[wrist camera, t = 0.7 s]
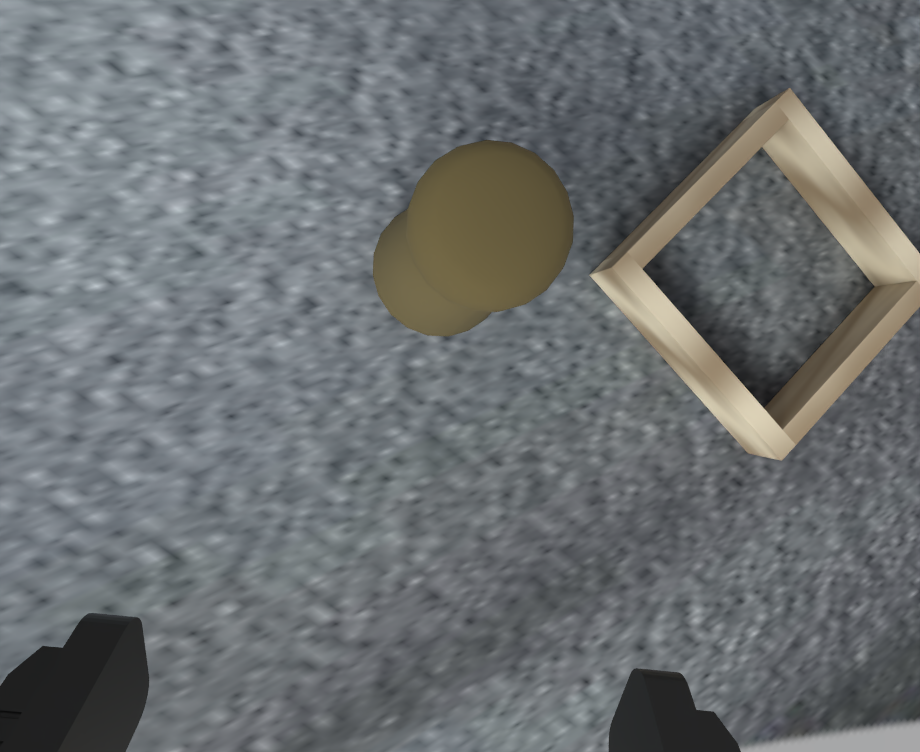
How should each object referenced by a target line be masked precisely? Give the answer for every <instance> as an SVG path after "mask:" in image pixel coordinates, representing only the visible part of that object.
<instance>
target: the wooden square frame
mask: <svg viewBox="0 0 920 752" xmlns="http://www.w3.org/2000/svg"><path fill="white" fill-rule="evenodd" d="M761 147H763V149H764V150H765V151H766V152H767V154H768V155H769V156H770V157H771V158H772V160H773V161H774V162H775V163H776V165H777V166H778V167H779V168H780V170H781V171H782V172H783V173H784V175H785V176H786V177H787V178H788V180H789V181H790V182H791V183H792V185H793V186H794V187H795V188H796V190H797V191H798V192H799V193H800V194H801V196H802V197H803V198H804V199H805V201H806V202H807V203H808V204H809V206H810V207H811V208H812V209H813V211H814V212H815V213H816V214H817V216H818V217H819V218H820V219H821V221H822V222H823V223H824V224H825V226H826V227H827V228H828V229H829V230H830V232H831V233H832V234H833V235H834V237H835V238H836V239H837V240H838V242H839V243H840V244H841V245H842V247H843V248H844V249H845V250H846V252H847V253H848V254H849V255H850V257H851V258H852V259H853V260H854V261H855V263H856V264H857V265H858V266H859V268H860V269H861V270H862V271H863V273H864V274H865V275H866V276H867V278H868V279H869V280H870V281H871V283H872V284H873V285H874V286H875V287H874V288H873V289H872V290H871V291H870V292H869V293H868V295H867V296H866V297H865V298H864V299H863V300H862V301H861V302H860V303H859V304H858V305H857V307H856V308H855V309H854V310H853V311H852V312H851V313H850V314H849V315H848V316H847V318H846V319H845V320H844V321H843V322H842V323H841V324H840V325H839V326H838V327H837V329H836V330H835V331H834V332H833V333H832V334H831V335H830V336H829V337H828V338H827V339H826V341H825V342H824V343H823V344H822V345H821V346H820V347H819V348H818V349H817V350H816V352H815V353H814V354H813V355H812V356H811V357H810V358H809V359H808V360H807V361H806V362H805V364H804V365H803V366H802V367H801V368H800V369H799V370H798V371H797V372H796V373H795V375H794V376H793V377H792V378H791V379H790V380H789V381H788V382H787V383H786V384H785V386H784V387H783V388H782V389H781V390H780V391H779V392H778V393H777V394H776V395H775V396H774V398H773V399H772V400H771V401H770V402H769V403H768V404H767V405H766V406H765V407H764V408H763V407H762V406H761V405H760V403H759V402H758V401H757V400H756V399H755V398H754V397H753V395H752V394H751V393H750V392H749V391H748V390H747V388H746V387H745V386H744V385H743V384H742V383H741V382H740V380H739V379H738V378H737V377H736V376H735V375H734V374H733V372H732V371H731V370H730V369H729V368H728V367H727V366H726V364H725V363H724V362H723V361H722V360H721V359H720V358H719V356H718V355H717V354H716V353H715V352H714V351H713V350H712V348H711V347H710V346H709V345H708V344H707V343H706V342H705V340H704V339H703V338H702V337H701V336H700V335H699V334H698V332H697V331H696V330H695V329H694V328H693V327H692V325H691V324H690V323H689V322H688V321H687V320H686V319H685V317H684V316H683V315H682V314H681V313H680V312H679V311H678V309H677V308H676V307H675V306H674V305H673V304H672V303H671V301H670V300H669V299H668V298H667V297H666V296H665V295H664V293H663V292H662V291H661V290H660V289H659V288H658V287H657V285H656V284H655V283H654V282H653V281H652V280H651V279H650V277H649V276H648V275H647V274H646V273H645V272H644V271H643V268H644V267H645V266H646V264H647V263H648V262H649V261H650V260H651V259H652V258H653V257H654V256H655V255H656V254H657V253H658V252H659V251H660V250H661V249H662V248H663V247H664V246H665V245H666V244H667V243H668V242H669V241H670V240H671V239H672V238H673V237H674V236H675V235H676V234H677V233H678V232H679V231H680V230H681V229H682V228H683V227H684V226H685V225H686V224H687V223H688V222H689V221H690V220H691V219H692V218H693V217H694V216H695V215H696V214H697V212H698V211H699V210H700V209H701V208H702V207H703V206H704V205H705V204H706V203H707V202H708V201H709V200H710V199H711V198H712V197H713V196H714V195H715V194H716V193H717V192H718V191H719V190H720V189H721V188H722V187H723V186H724V185H725V184H726V183H727V182H728V181H729V180H730V179H731V178H732V177H733V176H734V175H735V174H736V173H737V172H738V171H739V170H740V169H741V168H742V167H743V166H744V165H745V164H746V163H747V162H748V160H749V159H750V158H751V157H752V156H753V155H754V154H755V153H756V152H757V151H758V150H759V149H760V148H761ZM590 276H591V277H592V279H593V280H594V281H595V282H596V283H597V284H598V285H599V286H600V288H601V289H602V290H603V291H604V292H605V293H606V294H607V295H608V297H609V298H610V299H611V300H612V301H613V302H614V303H615V304H616V306H617V307H618V308H619V309H620V310H621V311H622V312H623V313H624V314H625V316H626V317H627V318H628V319H629V320H630V321H631V322H632V323H633V325H634V326H635V327H636V328H637V329H638V330H639V331H640V332H641V334H642V335H643V336H644V337H645V338H646V339H647V340H648V341H649V343H650V344H651V345H652V346H653V347H654V348H655V349H656V350H657V352H658V353H659V354H660V355H661V356H662V357H663V358H664V359H665V361H666V362H667V363H668V364H669V365H670V366H671V367H672V368H673V369H674V371H675V372H676V373H677V374H678V375H679V376H680V377H681V378H682V380H683V381H684V382H685V383H686V384H687V385H688V386H689V387H690V389H691V390H692V391H693V392H694V393H695V394H696V395H697V396H698V398H699V399H700V400H701V401H702V402H703V403H704V404H705V405H706V407H707V408H708V409H709V410H710V411H711V412H712V413H713V414H714V415H715V417H716V418H717V419H718V420H719V421H720V422H721V423H722V424H723V426H724V427H725V428H726V429H727V430H728V431H729V432H730V433H731V435H732V436H733V437H734V438H735V439H736V440H737V441H738V442H739V444H740V445H741V446H742V447H743V448H744V449H745V450H746V451H747V453H749V454H754V455H759V456H763V457H768V458H772V459H777V460H783V459H784V458H785V457H786V455H787V454H788V453H789V452H790V451H791V450H792V449H793V448H794V446H795V445H796V444H797V443H798V442H799V441H800V440H801V439H802V438H803V436H804V435H805V434H806V433H807V432H808V431H809V430H810V429H811V427H812V426H813V425H814V424H815V423H816V422H817V421H818V420H819V419H820V417H821V416H822V415H823V414H824V413H825V412H826V411H827V410H828V408H829V407H830V406H831V405H832V404H833V403H834V402H835V401H836V400H837V398H838V397H839V396H840V395H841V394H842V393H843V392H844V391H845V389H846V388H847V387H848V386H849V385H850V384H851V383H852V382H853V381H854V379H855V378H856V377H857V376H858V375H859V374H860V373H861V372H862V370H863V369H864V368H865V367H866V366H867V365H868V364H869V363H870V362H871V360H872V359H873V358H874V357H875V356H876V355H877V354H878V353H879V351H880V350H881V349H882V348H883V347H884V346H885V345H886V344H887V343H888V341H889V340H890V339H891V338H892V337H893V336H894V335H895V334H896V332H897V331H898V330H899V329H900V328H901V327H902V326H903V325H904V324H905V322H906V321H907V320H908V319H909V318H910V317H911V316H912V315H913V313H914V312H915V311H916V310H917V309H918V308H919V307H920V253H919V252H918V251H917V250H916V248H915V247H914V246H913V244H912V243H911V242H910V241H909V239H908V238H907V237H906V236H905V234H904V233H903V232H902V230H901V229H900V228H899V227H898V225H897V224H896V223H895V221H894V220H893V219H892V218H891V216H890V215H889V214H888V213H887V211H886V210H885V209H884V207H883V206H882V205H881V204H880V202H879V201H878V200H877V199H876V197H875V196H874V195H873V193H872V192H871V191H870V190H869V188H868V187H867V186H866V184H865V183H864V182H863V181H862V179H861V178H860V177H859V176H858V174H857V173H856V172H855V170H854V169H853V168H852V167H851V165H850V164H849V163H848V162H847V160H846V159H845V158H844V156H843V155H842V154H841V153H840V151H839V150H838V149H837V147H836V146H835V145H834V144H833V142H832V141H831V140H830V139H829V137H828V136H827V135H826V133H825V132H824V131H823V130H822V128H821V127H820V126H819V125H818V123H817V122H816V121H815V119H814V118H813V117H812V116H811V114H810V113H809V112H808V111H807V109H806V108H805V107H804V105H803V104H802V103H801V102H800V100H799V99H798V98H797V96H796V95H795V94H794V93H793V91H792V90H791V89H790V88H789V89H787V90H785V91H783V92H782V93H780V94H778V95H777V96H775V97H773V98H772V99H770V100H768V101H767V102H765V103H763V104H762V105H760V106H758V107H757V108H755V109H754V110H753V111H752V112H751V113H750V114H749V115H748V116H747V117H746V118H745V119H744V120H743V121H742V122H741V123H740V124H739V125H738V126H737V127H736V128H735V129H734V130H733V131H732V132H731V133H730V134H729V135H728V136H727V137H726V138H725V139H724V140H723V141H722V142H721V143H720V144H719V145H718V146H717V147H716V148H715V149H714V150H713V151H712V152H711V153H710V154H709V155H708V156H707V157H706V158H705V159H704V160H703V161H702V162H701V163H700V164H699V165H698V166H697V167H696V168H695V169H694V170H693V171H692V172H691V173H690V174H689V175H688V176H687V177H686V178H685V179H684V180H683V181H682V182H681V183H680V184H679V185H678V186H677V187H676V188H675V189H674V190H673V191H672V192H671V193H670V194H669V195H668V196H667V197H666V198H665V200H664V201H663V202H662V203H661V204H660V205H659V206H658V207H657V208H656V209H655V210H654V211H653V212H652V213H651V214H650V215H649V216H648V217H647V218H646V219H645V220H644V221H643V222H642V223H641V224H640V225H639V226H638V227H637V228H636V229H635V230H634V231H633V232H632V233H631V234H630V235H629V236H628V237H627V238H626V239H625V240H624V241H623V242H622V243H621V244H620V245H619V246H618V247H617V248H616V249H615V250H614V251H613V252H612V253H611V254H610V255H609V256H608V257H607V258H606V259H605V260H604V261H603V262H602V263H601V264H600V265H599V266H598V267H597V268H596V269H595V270H594V271H593V272H592V273H591V274H590Z"/></svg>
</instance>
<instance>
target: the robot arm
mask: <svg viewBox="0 0 920 752" xmlns="http://www.w3.org/2000/svg"><path fill="white" fill-rule="evenodd" d="M148 688H149V674H148V666H147V658H146V651H145V643H144V635H143V628H142V622H141V620H140V619H139V618H137V617H127V616H117V615H107V614H97V613H89V614H87V615H86V616H84V617H83V618H82V619H81V621H80V622H79V623H78V625H77V626H76V628H75V630H74V631H73V633H72V634H71V636H70V637H69V639H68V641H67V642H66V644H65V645H64V647H63V648H58V647H48V646H42V647H41V648H40V649H39V650H37V651H36V652H35V653H34V654H32V655H31V656H30V657H29V658H28V659H26V660H25V661H24V662H23V663H22V664H20V665H19V666H18V667H17V668H15V669H14V670H13V671H12V672H11V673H9V674H8V676H7V677H6V678H5V680H4V681H3V683H2V684H1V686H0V752H126V749H127V747H128V745H129V743H130V741H131V739H132V736H133V734H134V732H135V730H136V728H137V725H138V723H139V721H140V719H141V716H142V713H143V710H144V707H145V703H146V700H147V695H148ZM609 752H741V751H740V749H739V746H738V744H737V742H736V741H735V739H734V738H733V737H732V735H731V734H730V733H729V731H728V730H727V729H726V727H725V726H724V725H723V723H722V722H721V721H720V719H719V718H718V717H717V715H716V714H715V713H714V712H711V711H701V710H696V708H695V705H694V702H693V699H692V696H691V693H690V690H689V687H688V684H687V682H686V680H685V678H684V676H683V675H682V674H681V673H678V672H668V671H658V670H648V669H637V668H636V669H634V670H633V671H632V672H631V674H630V677H629V679H628V682H627V684H626V687H625V689H624V692H623V694H622V697H621V700H620V702H619V705H618V707H617V710H616V712H615V715H614V717H613V720H612V723H611V727H610V733H609Z"/></svg>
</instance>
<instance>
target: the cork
mask: <svg viewBox="0 0 920 752" xmlns="http://www.w3.org/2000/svg"><path fill="white" fill-rule="evenodd" d="M573 221H574V216H573V212H572V208H571V205H570V201H569V197H568V193H567V191H566V189H565V188H564V186H563V184H562V183H561V181H560V179H559V178H558V176H557V174H556V173H555V171H554V170H553V169H552V168H551V167H550V166H549V165H548V164H546V163H545V162H544V161H543V160H542V159H541V158H540V157H539V156H538V155H536V154H535V153H533V152H531V151H529V150H527V149H525V148H522V147H520V146H518V145H516V144H514V143H510V142H501V141H491V140H485V141H480V142H476V143H471V144H467V145H462V146H459V147H456V148H455V149H453V150H452V151H450V152H448V153H447V154H445V155H444V156H442V157H440V158H439V159H437V160H436V161H434V163H433V164H432V165H431V166H430V168H429V169H428V170H427V171H426V173H425V174H424V175H423V176H422V177H421V179H420V180H419V181H418V183H417V186H416V188H415V191H414V194H413V196H412V199H411V202H410V205H409V207H408V209H407V210H406V211H404V212H402V213H401V214H399V215H398V216H396V217H394V219H393V220H392V221H391V222H390V224H389V225H388V226H387V227H386V229H385V230H384V231H383V232H382V233H381V236H380V238H379V241H378V244H377V246H376V249H375V252H374V261H373V277H374V281H375V284H376V288H377V291H378V295H379V297H380V299H381V300H382V302H383V303H384V305H385V306H386V308H387V309H388V311H389V312H390V314H391V315H392V316H394V317H395V318H396V319H397V320H399V321H400V322H401V323H402V324H404V325H405V326H406V327H407V328H410V329H412V330H415V331H417V332H420V333H423V334H425V335H432V336H451V335H455V334H458V333H462V332H465V331H468V330H470V329H471V328H473V327H474V326H476V325H477V324H479V323H480V322H482V321H483V320H485V319H486V318H487V317H488V315H489V314H490V313H491V312H499V311H503V310H506V309H510V308H513V307H517V306H521V305H524V304H527V303H528V302H530V301H531V300H532V299H534V298H535V297H537V296H538V295H540V294H541V293H543V292H544V291H546V290H547V289H548V287H549V286H550V285H551V283H552V282H553V281H554V279H555V278H556V277H557V276H558V274H559V273H560V272H561V270H562V269H563V267H564V265H565V262H566V259H567V256H568V254H569V251H570V248H571V245H572V242H573Z"/></svg>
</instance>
